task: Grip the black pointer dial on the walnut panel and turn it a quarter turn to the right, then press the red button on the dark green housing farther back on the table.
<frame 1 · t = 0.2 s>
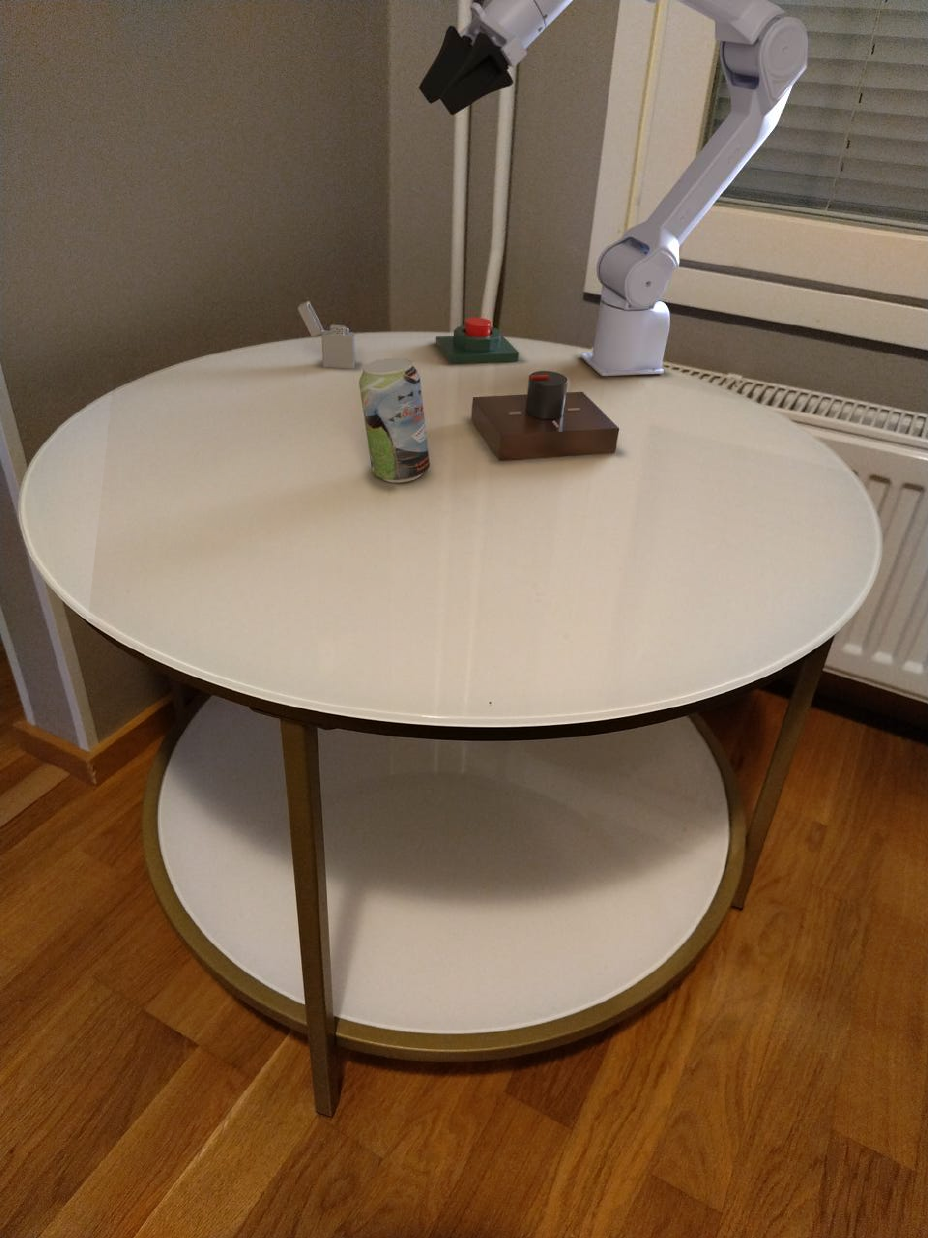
hand: (434, 101, 95), 31 cm above the table, tool tilted 45°, fingers open, 7 cm apart
dial panel: (541, 436, 101), on the table
dial: (546, 393, 98), point 5 cm above the table, hinge at 0.0°
beverage can: (394, 476, 91), on the table
button: (477, 327, 121), point 4 cm above the table, slide at 0.2 cm
lighter: (328, 366, 115), on the table
button box: (476, 352, 123), on the table
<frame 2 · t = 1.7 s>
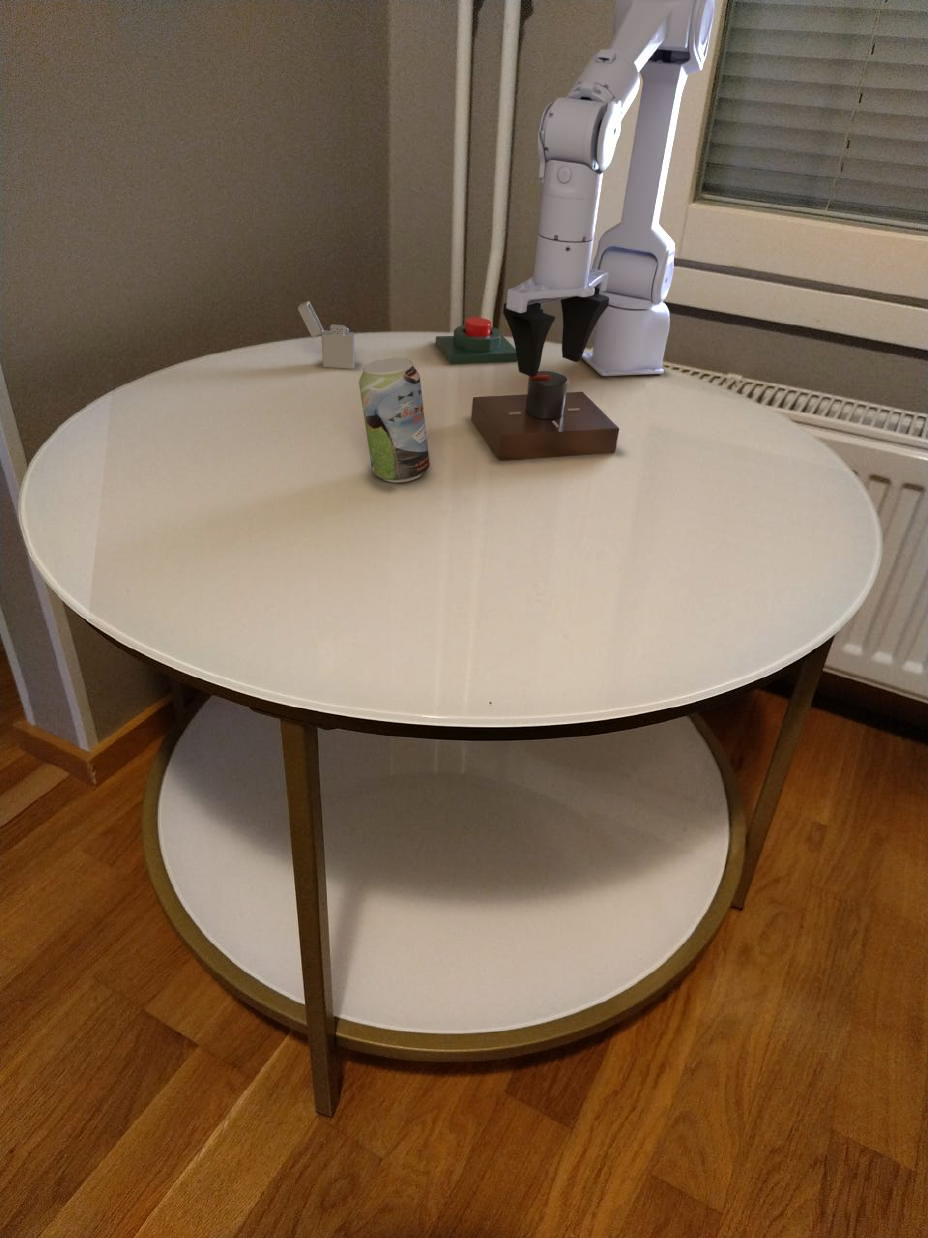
hand: (549, 366, 96), 8 cm above the table, tool pointing down, fingers open, 7 cm apart
nothing on the table moved.
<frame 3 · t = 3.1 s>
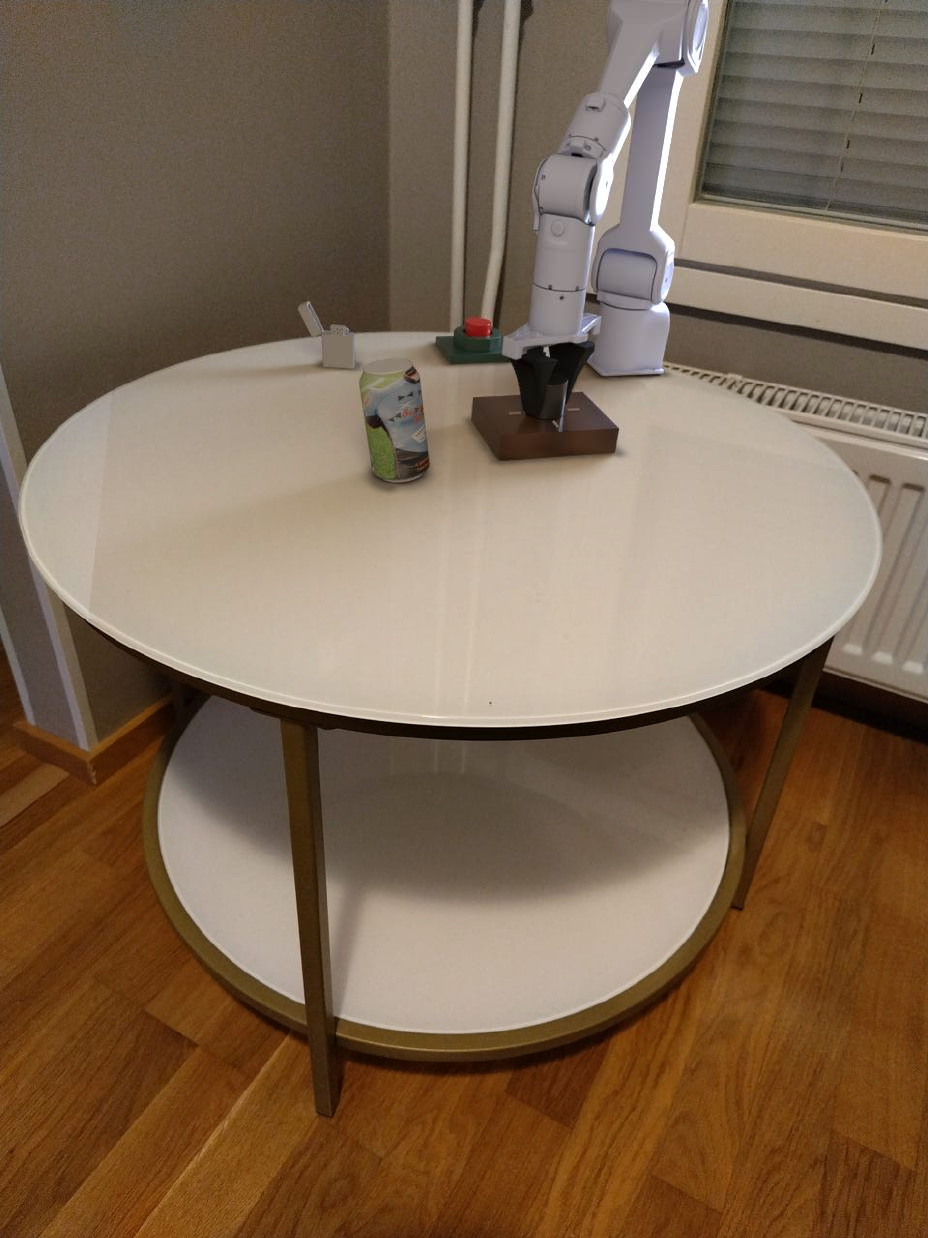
hand: (544, 407, 98), 4 cm above the table, tool pointing down, fingers closed on dial, 4 cm apart
dial: (546, 393, 98), point 5 cm above the table, hinge at 0.1°, touching gripper
everything else where it was.
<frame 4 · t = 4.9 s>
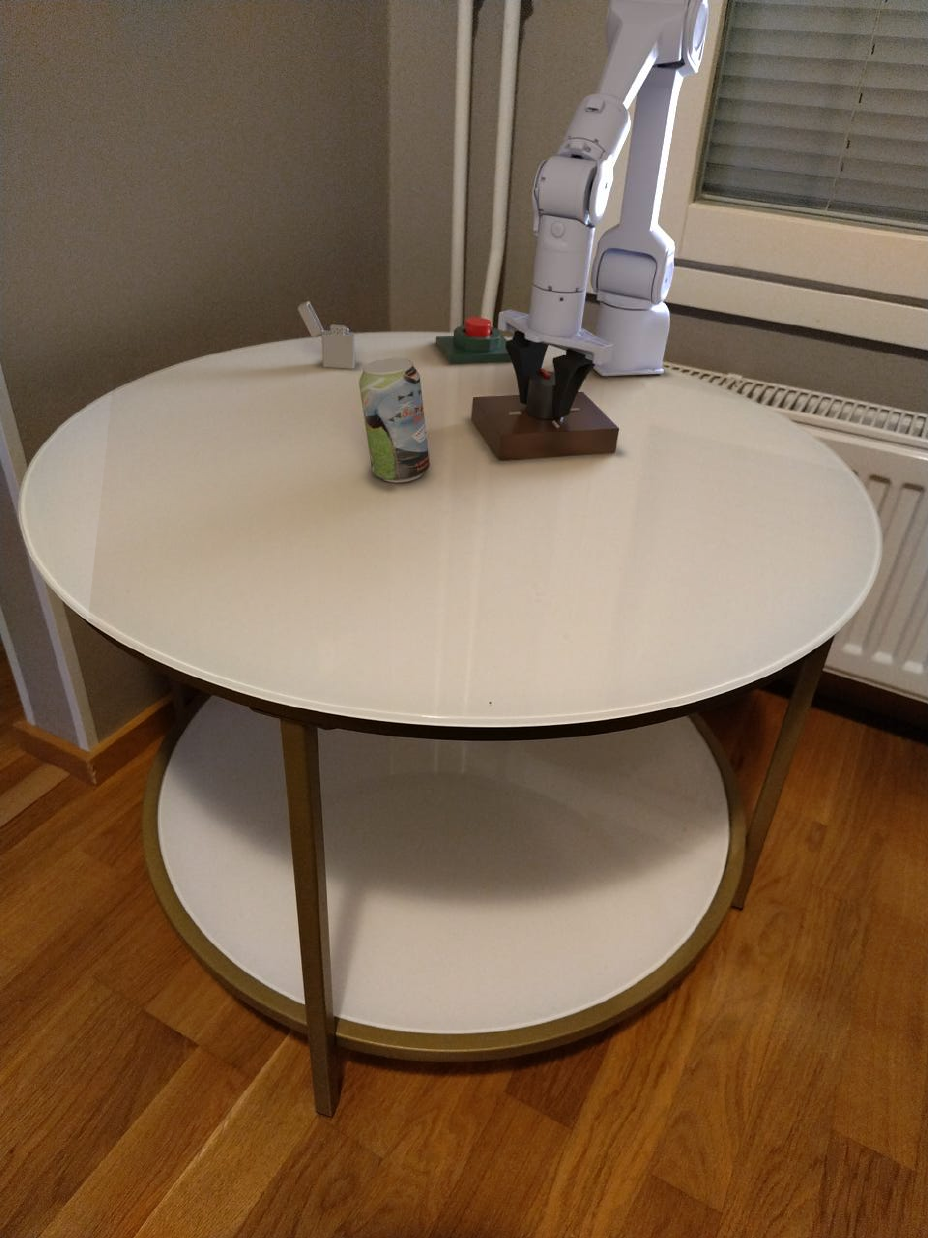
hand: (544, 408, 99), 3 cm above the table, tool pointing down, fingers closed on dial, 4 cm apart
dial: (546, 393, 98), point 5 cm above the table, hinge at -89.3°, touching gripper
everything else where it was.
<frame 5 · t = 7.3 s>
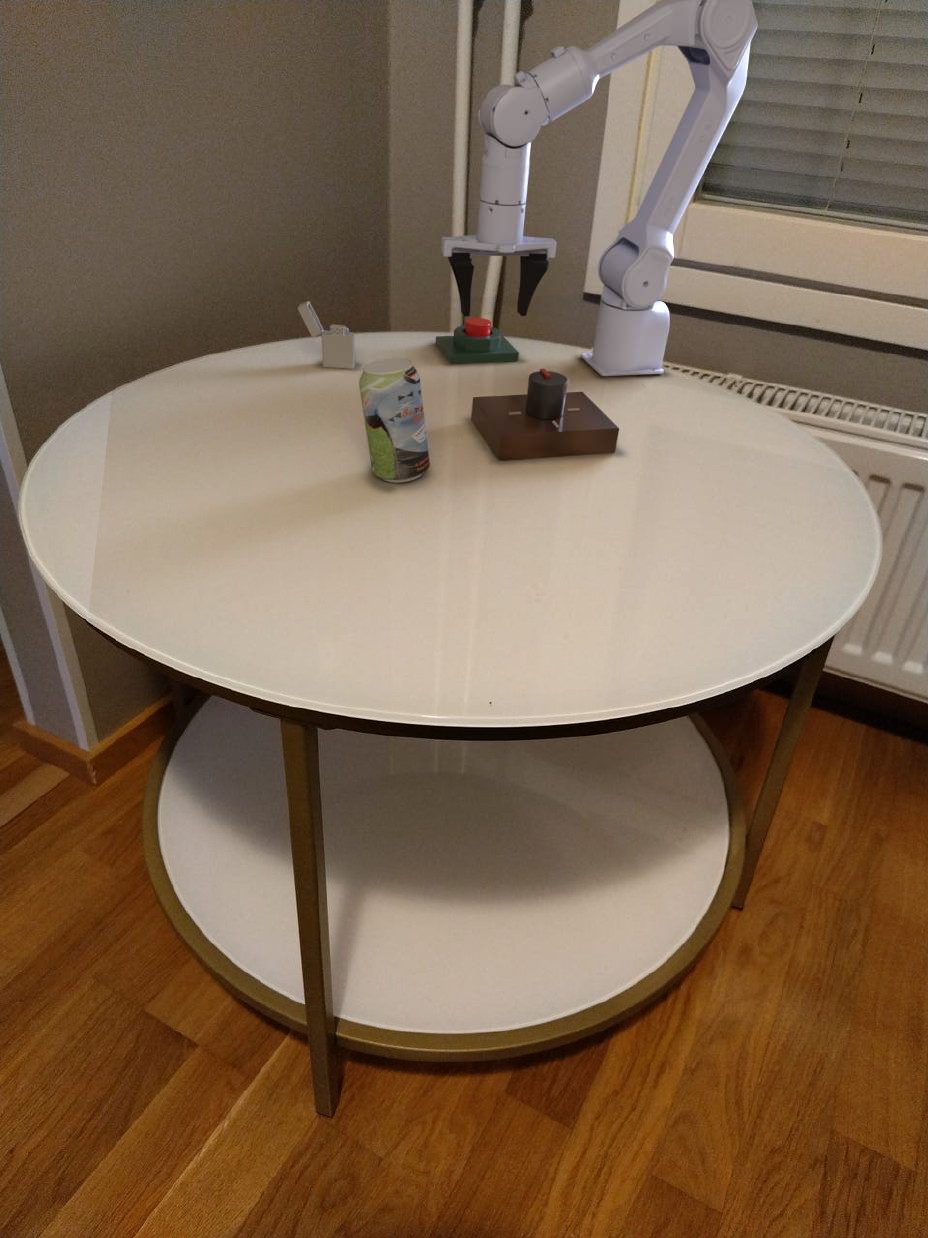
hand: (493, 313, 113), 7 cm above the table, tool pointing down, fingers open, 7 cm apart
dial: (546, 393, 98), point 5 cm above the table, hinge at -89.8°
everything else where it was.
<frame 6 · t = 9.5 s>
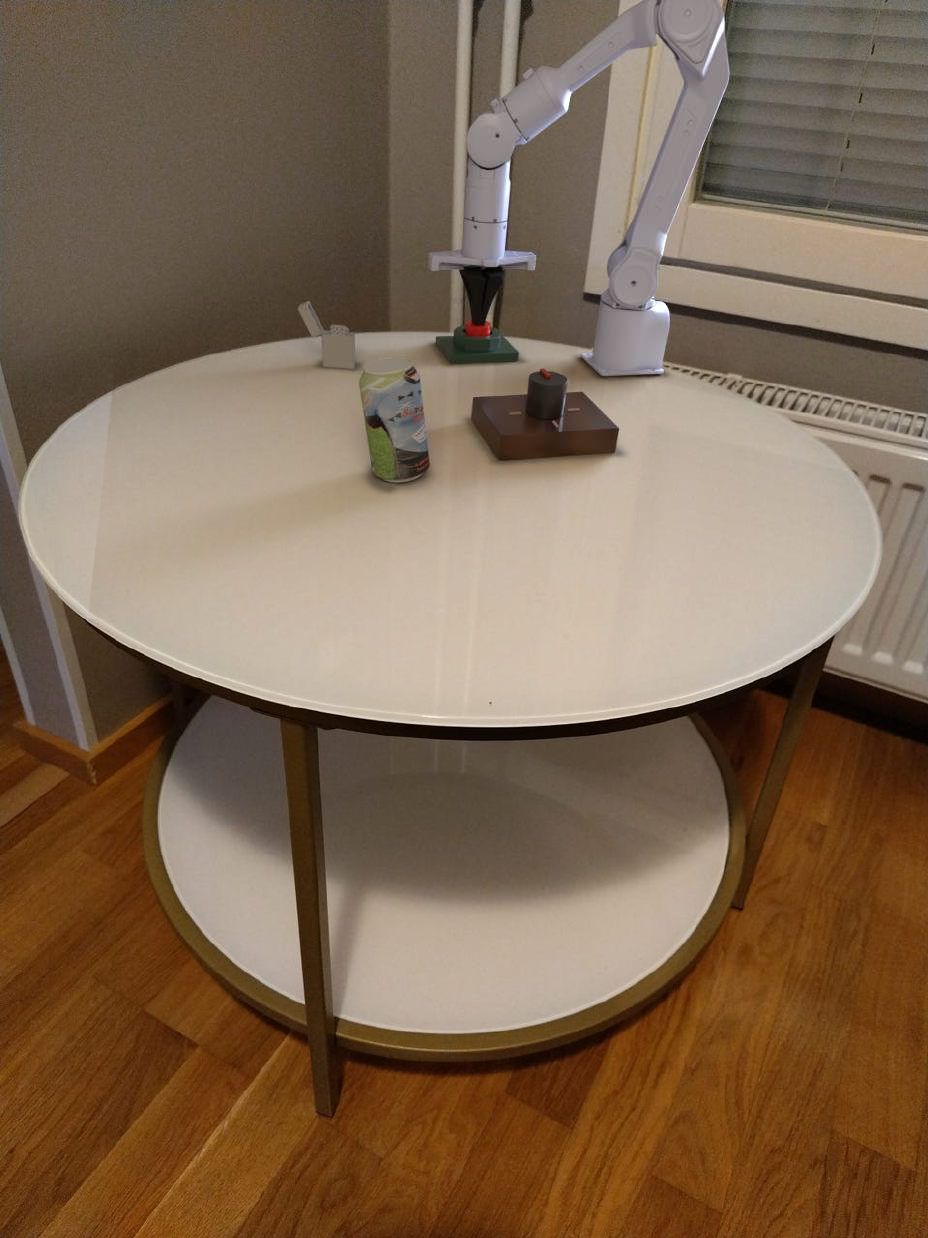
hand: (478, 323, 120), 4 cm above the table, tool pointing down, fingers closed, pressing on button
button: (477, 329, 121), point 3 cm above the table, slide at -0.1 cm, touching gripper
everything else where it was.
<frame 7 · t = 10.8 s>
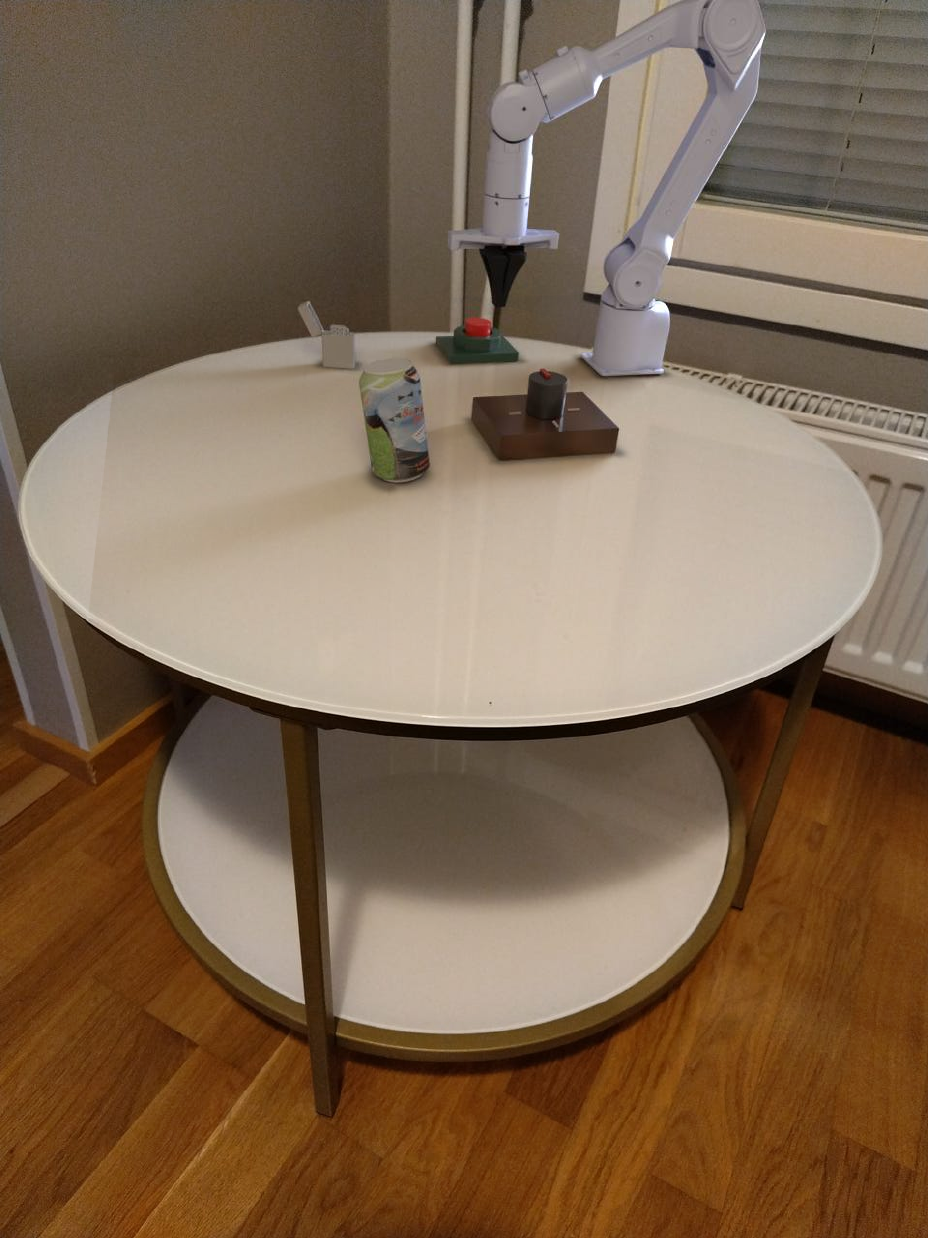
hand: (498, 304, 116), 7 cm above the table, tool pointing down, fingers closed
button: (477, 327, 121), point 4 cm above the table, slide at 0.1 cm
everything else where it was.
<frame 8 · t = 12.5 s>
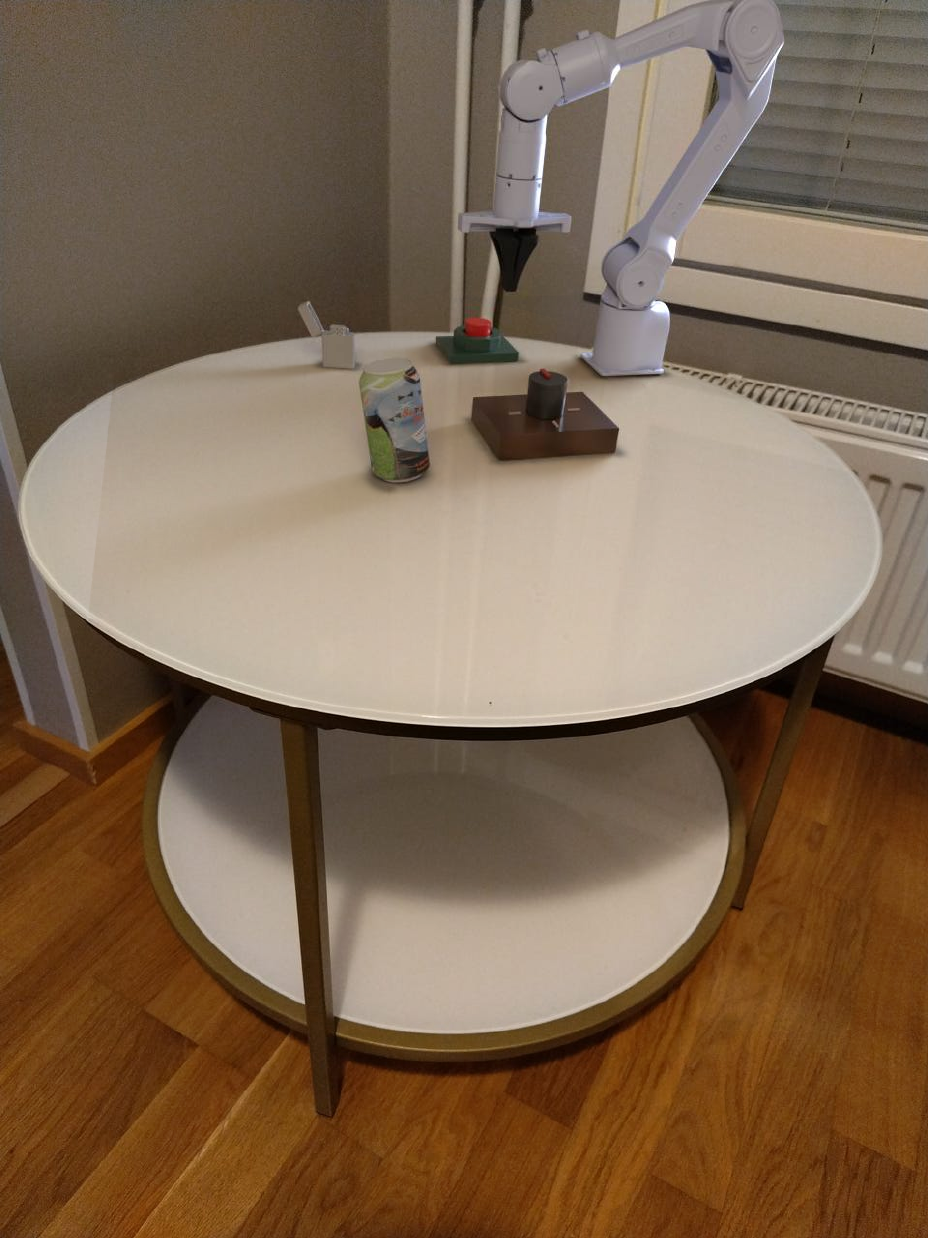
hand: (509, 289, 114), 10 cm above the table, tool pointing down, fingers closed
nothing on the table moved.
at the end: dial at -90° (first picture: +0°); button pushed in 1.2 cm at the most during the clip, back to where it started at the end; button slide at 0.1 cm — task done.
